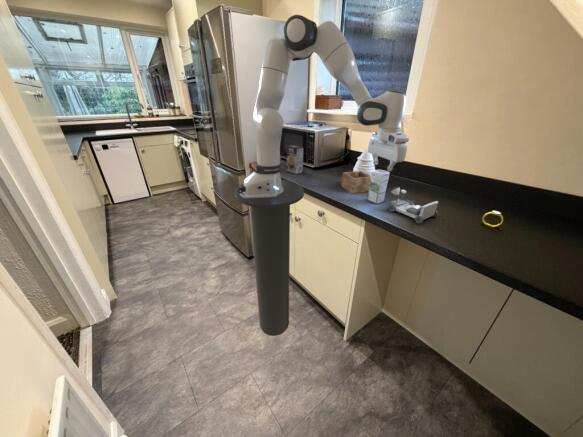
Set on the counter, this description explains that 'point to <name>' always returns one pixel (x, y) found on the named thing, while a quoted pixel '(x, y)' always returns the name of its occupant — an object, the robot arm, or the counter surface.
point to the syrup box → (378, 186)
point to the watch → (494, 214)
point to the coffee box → (294, 159)
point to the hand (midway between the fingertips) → (382, 167)
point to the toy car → (412, 207)
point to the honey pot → (365, 163)
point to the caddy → (356, 181)
